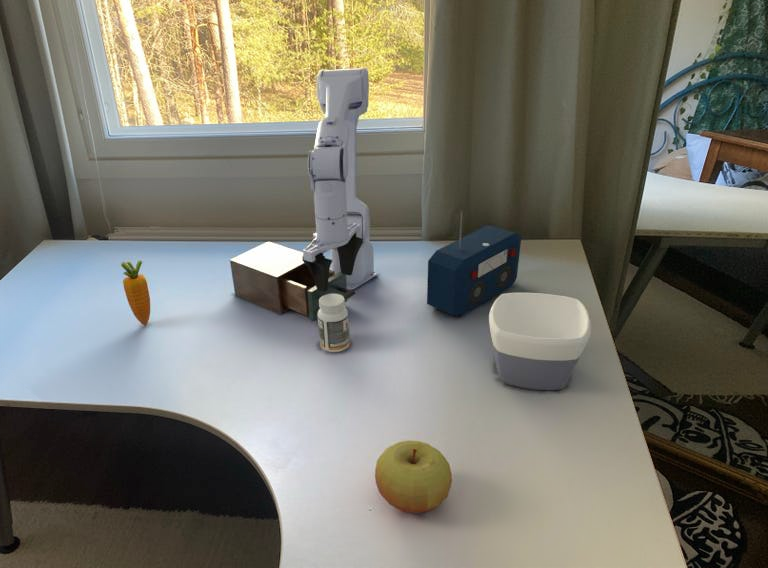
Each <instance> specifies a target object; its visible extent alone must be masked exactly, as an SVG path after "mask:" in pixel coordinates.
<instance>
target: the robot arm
mask: <svg viewBox="0 0 768 568" xmlns="http://www.w3.org/2000/svg"><path fill="white" fill-rule="evenodd" d="M369 76H370V75H369V70H368V69H367V68H366V66H363V67H360V68H344V69H328V70H324V69H320V70H319V71H318V73H317V75H316V84H315V85H316V97H317V100H318V103H319V106H320V109H321V110H322V113H323V115H325V117H324V118H322V119H321V120H320V121H319V122H318V125H317V131H316V135H315V140H314V141H315V142H314V146H313V150H309V151H308V156H307V172H308V177H309V181H310V190H311V192H313V203H314V218H315V220H314V221H315V232H314V233H313V234H312V238H313V240H312V241H311V242H310V243H309V245H308V246H307V247H306V248H304V249H303V250H302V253H303V255H302V260H303V262H304V263H305V264H306V266H307V267H308V269H309V270H310V272H311V274H312V276H313V279H314V281H315V284H316V287H317V289H318V290H321V291H324V292H326V291H327V290H328V285H329V270H332V271H334V272H335V274H337V273H339V272H341V273H342V274H345V275H346V282H347V290H351V289H354V290H356V289H357V288H359V287H360V286H361V285H363V284H365V283H366V282H368V281H370V280H371V279H373V278H375V277H376V276H378V273H377V272H375V270H374V269H375V263H374V262H375V261H374V258H375V257H374V246H373V244H372V242H371V240H370V235H371V218H370V209H369V206H368V205H367V204H366V203H365V202H363V201H362V200H360V199H359V198H358V197H357V137H358V136H357V135H358V134H357V133H358V132H357V128H358V123H359V118H360V116H362V115H364V114H366V113H367V112H368V108H369V95H370V94H369V92H370V77H369ZM351 212H352V213H351ZM355 212H356V213H355ZM328 251H330V258H326V256H325V255H324V253H326V252H328Z"/></svg>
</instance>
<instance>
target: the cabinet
mask: <svg viewBox="0 0 768 568" xmlns="http://www.w3.org/2000/svg"><path fill="white" fill-rule="evenodd" d="M302 255H303V251H300V250H296V249H294V248H289V247H287V246H284V245H281V244H277V243H274V242H271V241H267V242H264V243H261V244H260V245H258V246H255V247H254V248H252V249H249V250H247V251H246V252H242V253H241V254H239V255H237V256H235V257H233V258H230V259H229V262H230V264H229V265H230V270H231V277H232V285H233V290H234V295H235V296H238V297H240V298H242V299H245V300H246V301H249V302H251V303H254V304H256V305H258V306H261V307H263V308H265V309H268V310H270V311H272V312H275V313H277V314H280V315H282V314H284V313H285V312H287V311H289V310H290V309H289V308H287V307H285V306H283V303H282V293H281V284H280V279H282V278H283V277H285V276H287V275H289V274H291V273H293V272H295V271H296V270H298V269H300V268H302V267H304V266H306V264H305V263H304V262H303V260H302Z"/></svg>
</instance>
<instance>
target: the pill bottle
mask: <svg viewBox="0 0 768 568" xmlns="http://www.w3.org/2000/svg"><path fill="white" fill-rule="evenodd" d="M345 305H346V303H345V299H344V297H343V296H342V295H339V294H327V295H324V296H322V297H321V298H320V299H319V307H320V309H319V311H318V314H317V315H318V320H317V327H318V335H319V336H318V338H319V345H320V348H321V349H322V350H324V351H325V352H329V353H339V352H343V351H345V350H346V349H348V347H349V346H350V344H351V337H350V322H349V311H348V308H347V307H346V306H345Z"/></svg>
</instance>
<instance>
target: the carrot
mask: <svg viewBox="0 0 768 568" xmlns="http://www.w3.org/2000/svg"><path fill="white" fill-rule="evenodd" d="M142 264H143V261H142V260H138V261H137V263H136V265H135V267H134V265H133V263H132V262H131V261H130V260H129V261H127V262H125V261H122V262H121V263H120V266H121V267H122V268H123V269H124V270H125V271H124V272H123V273H122V274H123V275H125V276H126V277H125V278H123V280H122V284H123V289H124V293H125V296H126V300H127V303H128V305H129V307H130V310H131V311H132V313H133V315H134V317H135V318H136V319H137V321H138V322H139V323H140V324H141V325H142V326H146V325H148V324H149V320H150V316H151V298H150V291H149V287H148V282H147V278H146V276H145V275H144V274H139V273H140V268H141V266H142Z"/></svg>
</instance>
